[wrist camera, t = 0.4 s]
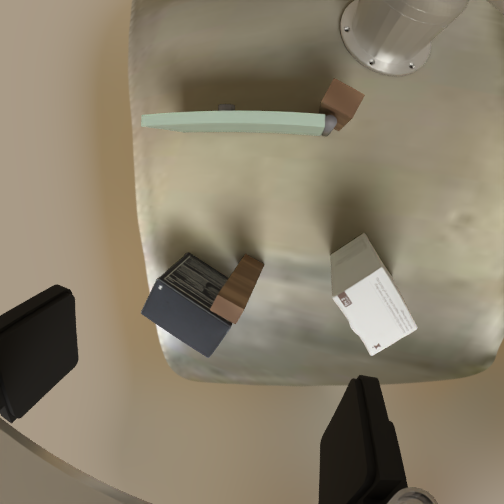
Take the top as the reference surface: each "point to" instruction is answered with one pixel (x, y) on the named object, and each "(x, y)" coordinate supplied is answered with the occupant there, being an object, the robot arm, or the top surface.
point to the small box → (189, 304)
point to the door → (242, 121)
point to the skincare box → (369, 296)
